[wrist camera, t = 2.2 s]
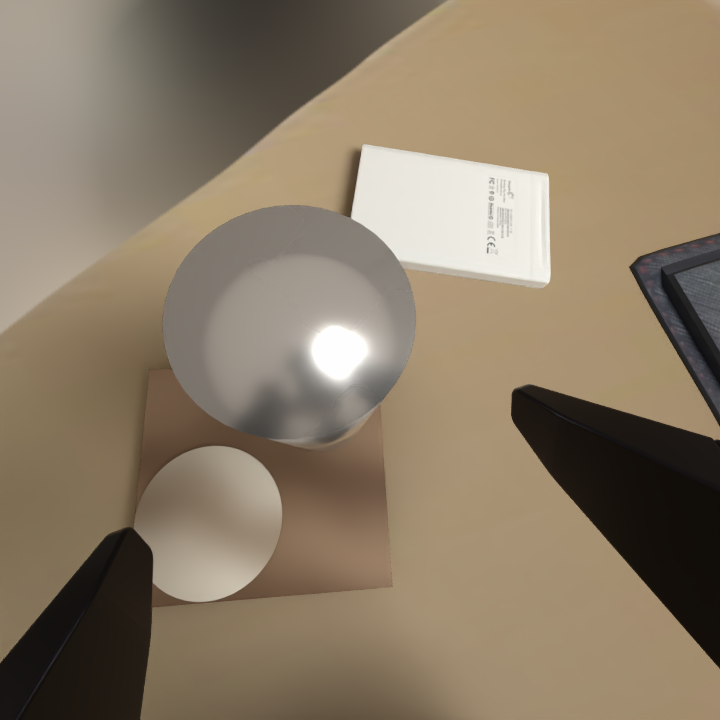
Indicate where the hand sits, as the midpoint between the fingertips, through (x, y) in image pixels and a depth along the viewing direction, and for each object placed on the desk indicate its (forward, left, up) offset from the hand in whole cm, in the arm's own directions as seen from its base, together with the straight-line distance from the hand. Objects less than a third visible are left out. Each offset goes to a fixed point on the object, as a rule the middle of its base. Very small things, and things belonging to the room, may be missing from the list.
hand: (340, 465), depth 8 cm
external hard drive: (+15, -8, -12) cm, 21 cm away
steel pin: (+3, +1, -10) cm, 11 cm away
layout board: (0, +4, -11) cm, 12 cm away
